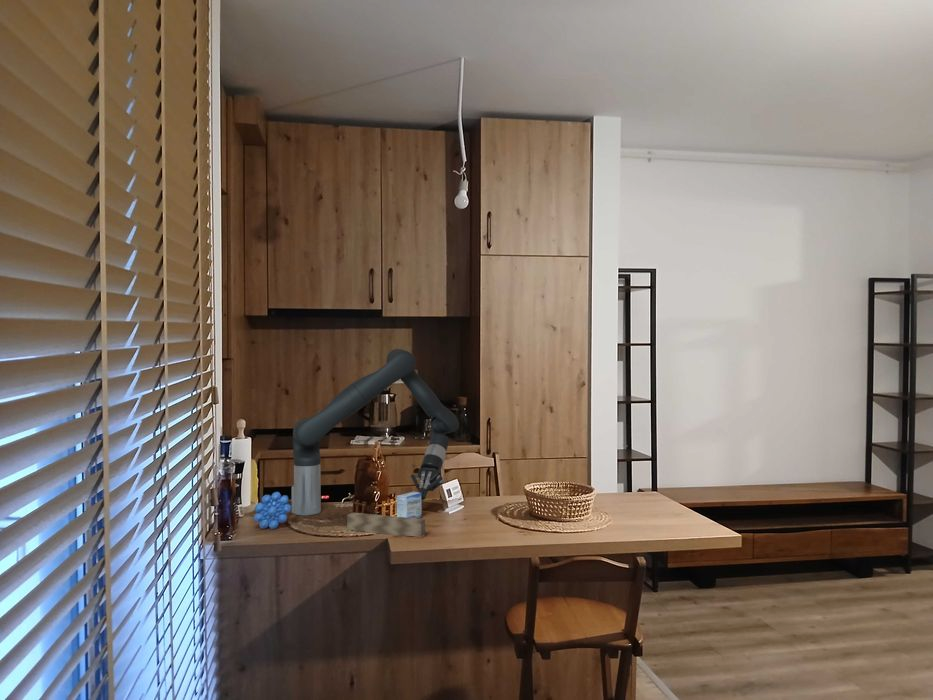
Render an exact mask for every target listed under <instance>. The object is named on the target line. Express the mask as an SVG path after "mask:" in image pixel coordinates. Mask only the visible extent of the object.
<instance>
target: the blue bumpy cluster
mask: <svg viewBox="0 0 933 700" xmlns="http://www.w3.org/2000/svg"><path fill="white" fill-rule="evenodd" d="M289 500H290V499H289V496H288V495H282V494H281V493H280V491H275V492H273V493H272V494H271V495H270V494H265V495H263V496H262V497H261V502H258V503H257V504H255V506H254V511H255V512H256V513H255V515H254V516H253V521H254V522H255V523H259V527H260V528H261V529H263V530H264V529H266V528H268V527H269V529H270V530H275V529H276V528H278V526H279V524H284V523H285V522H287V520H288V515H287V514H289V513H290V512H291V511H292V505H290V503H288V502H289Z"/></svg>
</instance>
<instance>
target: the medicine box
mask: <svg viewBox="0 0 933 700" xmlns="http://www.w3.org/2000/svg"><path fill="white" fill-rule="evenodd" d="M396 517H406V518H418V517H421V518H422V501H421V493H419V492H418V491H409V492H406V493H401V494H399V495H396Z"/></svg>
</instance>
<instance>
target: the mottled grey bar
mask: <svg viewBox="0 0 933 700" xmlns="http://www.w3.org/2000/svg"><path fill="white" fill-rule="evenodd" d="M346 521H347V522H346V530H347V531H350V530H355V531H354V532H360V531H365V532H364V533H369V532H373V534H380V535H390V536H398V535H399V537H407V536H419V537H422V536H423V535H425V536H426V519H425V518H419V519H416V518H406V517H397V516H395V515H393V516H392V515H384V514H373V513H361V512H352V511H351V512H350V513H348V514H347V515H346ZM400 535H402V536H400ZM422 538H423V537H422Z"/></svg>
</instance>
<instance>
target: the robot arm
mask: <svg viewBox="0 0 933 700" xmlns="http://www.w3.org/2000/svg"><path fill="white" fill-rule="evenodd" d="M385 360H386V363H385V364H384V365H383V366H382V367H380V368H379V369H377V370H376V371H374V372H372V373H370V374H367V375H365V376H363V377H360V378H359V379H357V380H355V381H353V382H352V383H350V384H349V385H348V386H347V387H345V388H343V389H342V390H341V391H339V393H338V394H336V396H334V398H333V399H332V400H331V401H330V402H329V403H328V404H327V406H326V407H324V408H323V409H321V410H320V411H319V412H318V413H316V414H315V415H313V416H311V417H309V418H306V417H305V418H301V419H300V420H298V421H297V422H296V423H295V424H294V426H293V428H292V429H293V430H292V453H293V454H292V455H293V485H292V486H291V514H294V515H296V516H313V515H317V514H320V513H321V512H322V511H321V510H322V505H321V504H322V503H321V502H322V501H321V499H322V498H321V497H322V496H321V490H322V489H321V485H322V484H321V483H322V482H321V481H322V480H321V473H322V472H321V469H322V468H321V464H322V463H321V452H320V451H321V449H320V440H321V439H323V438H324V437H325V436H326V435H327V434H328V433H329V432H330V431H331V430H333V428H334V427H336V426H338V424H340V423H342V422H343V421H345V420H347V418H349V417H351V416H352V415H353V414H355V413H356V412H358V411H360V410H361V409H362V408H363V407H365V406H366V405H368V404H369V403H370V402H371V401H372V400H374V399H375V398H376V397H378V396H379V395H380V394H381V393H382V392H383V391H385V390H386V389H387V388H389V387H390V386H391V385H393V384H394V383H396V382H398V381H399V380H400V381H402V383H403V384H404V385H405V386H406V387H407V389H408V390H409V392H410V393H411V394H412V396H413V398H414V399H415V400H416V401H417V403H418V404H419V406H420V407H421V409H422V410H423V411H424V413H425V414H426V415H427V416H428V417H429V418H435V419H434V420H433V421H432V423H431V429H430V430H431V432H430V440H429V442H428V446H427V448H426V451H425V453H424V456H423V458H422V462H421V464H420V469H419V470H418V471H417V473H416V474H413V473H412V474H411V475H410V478H411V480H412V482H413V484H414V486H415V488H416V489H417V492H419V493H421V502H424V501H425V499H426V497H427V495H428V493H429V492H434V491H435V490H436V489H437V488H438V487H440V486H441V485H442V484H444V482H445V481H444V478H443V476H441V471H442V467H443V464H444V461H445V458H446V454H447V450H448V448H449V447H448V446H449V444H450V443H449V442H450V439H449V437H448V436H447V434H451V433H454V432H456V431H457V430H458V429H459V425H460V424H459V420H458V417H457V415H455V414H454V412H452V410H450V409H449V408H448V407H446V406H444V404H443V403H442V402H441V401H440V399H439V398H438V396H437V395H436V394H435V393H434V391H433V390H432V389H431V387H429V386H428V384H427V383H426V382H425V381H424V380H423V379H422V377H420V375H419V374H418V373H417V371H416V370H415V367H416V364H417V363H416V362H417V360H416V357H415V356H414V354H413V353H411V352H410V351H408V350H405V349H401V348H394V349H392V350H390V351H389V353H388V354H387V355H386V359H385ZM419 480H420V481H419ZM418 481H419V483H418Z"/></svg>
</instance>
